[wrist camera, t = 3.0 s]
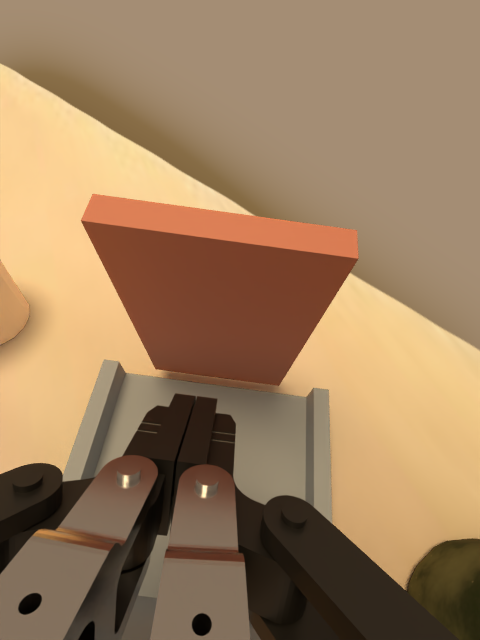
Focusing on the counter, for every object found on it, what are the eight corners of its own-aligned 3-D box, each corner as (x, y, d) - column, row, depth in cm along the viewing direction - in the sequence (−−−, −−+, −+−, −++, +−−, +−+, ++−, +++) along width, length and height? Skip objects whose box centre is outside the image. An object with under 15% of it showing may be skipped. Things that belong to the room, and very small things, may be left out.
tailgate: (278, 385, 24) (358, 258, 11) (155, 369, 24) (80, 220, 11) (280, 362, 25) (356, 217, 12) (161, 346, 25) (98, 181, 11)
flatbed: (313, 683, 18) (391, 811, 10) (33, 647, 18) (-105, 748, 10) (312, 407, 25) (357, 358, 18) (118, 381, 25) (77, 321, 18)
